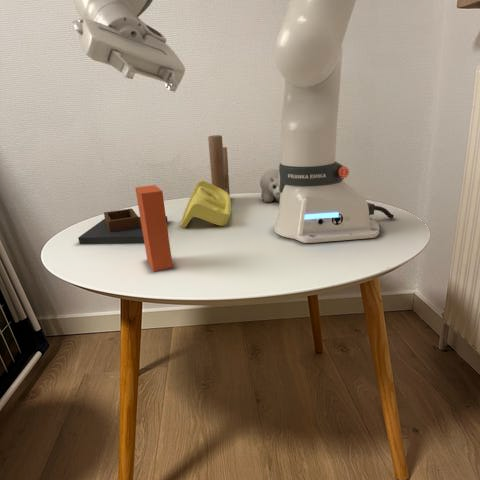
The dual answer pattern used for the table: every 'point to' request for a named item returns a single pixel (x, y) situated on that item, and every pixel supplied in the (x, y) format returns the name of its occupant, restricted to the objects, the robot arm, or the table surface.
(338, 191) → the robot arm
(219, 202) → the plastic component
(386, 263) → the table surface
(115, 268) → the table surface
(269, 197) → the round bodied animal figurine
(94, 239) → the base pad
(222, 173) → the wooden block
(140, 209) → the orange rectangular block
